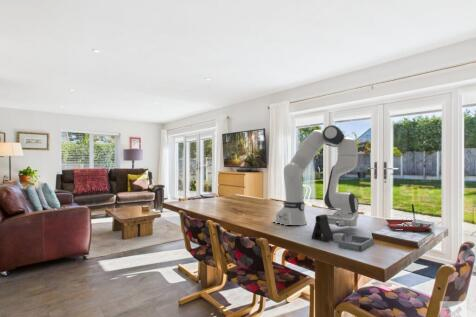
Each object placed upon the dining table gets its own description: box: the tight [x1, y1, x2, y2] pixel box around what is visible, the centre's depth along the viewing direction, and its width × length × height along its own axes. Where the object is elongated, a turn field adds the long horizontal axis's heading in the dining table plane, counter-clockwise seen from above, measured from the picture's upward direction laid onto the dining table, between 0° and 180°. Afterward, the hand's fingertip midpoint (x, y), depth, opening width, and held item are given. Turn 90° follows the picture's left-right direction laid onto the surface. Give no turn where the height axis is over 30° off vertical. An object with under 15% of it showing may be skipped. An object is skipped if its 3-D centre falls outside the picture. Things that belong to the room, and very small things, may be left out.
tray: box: [337, 234, 375, 252], centre depth 125 cm, size 10×15×2 cm
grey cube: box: [332, 232, 347, 244], centre depth 131 cm, size 4×4×4 cm
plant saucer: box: [385, 218, 429, 232], centre depth 155 cm, size 18×18×3 cm
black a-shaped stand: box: [311, 213, 334, 243], centre depth 137 cm, size 9×6×12 cm, turn 38°
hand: (328, 222), depth 142 cm, fingers open, 8 cm apart
